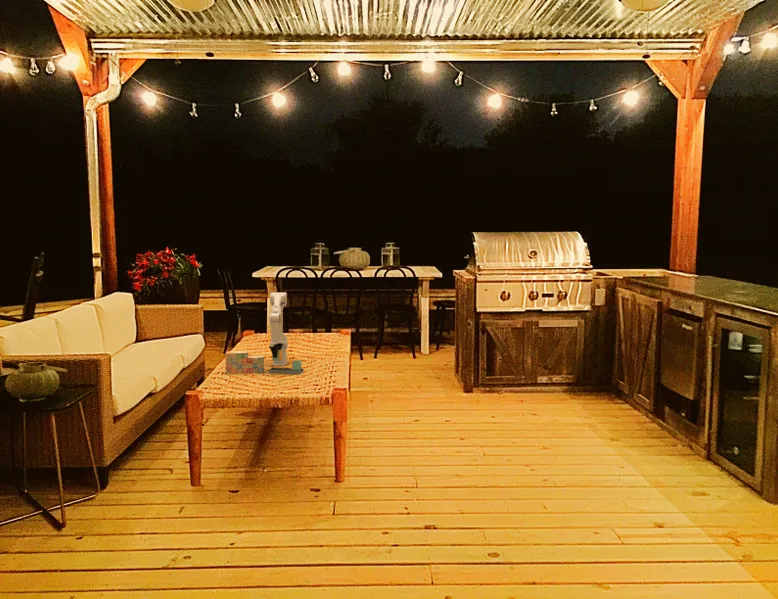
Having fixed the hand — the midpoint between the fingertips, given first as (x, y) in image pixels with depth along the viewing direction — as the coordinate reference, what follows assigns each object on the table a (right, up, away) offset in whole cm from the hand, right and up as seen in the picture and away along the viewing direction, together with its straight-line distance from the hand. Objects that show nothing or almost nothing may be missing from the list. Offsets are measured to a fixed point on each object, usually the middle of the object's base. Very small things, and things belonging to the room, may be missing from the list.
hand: (276, 356), depth 372 cm
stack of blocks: (-18, -9, +1) cm, 20 cm away
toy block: (0, -2, 0) cm, 2 cm away
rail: (+6, -9, 0) cm, 11 cm away
